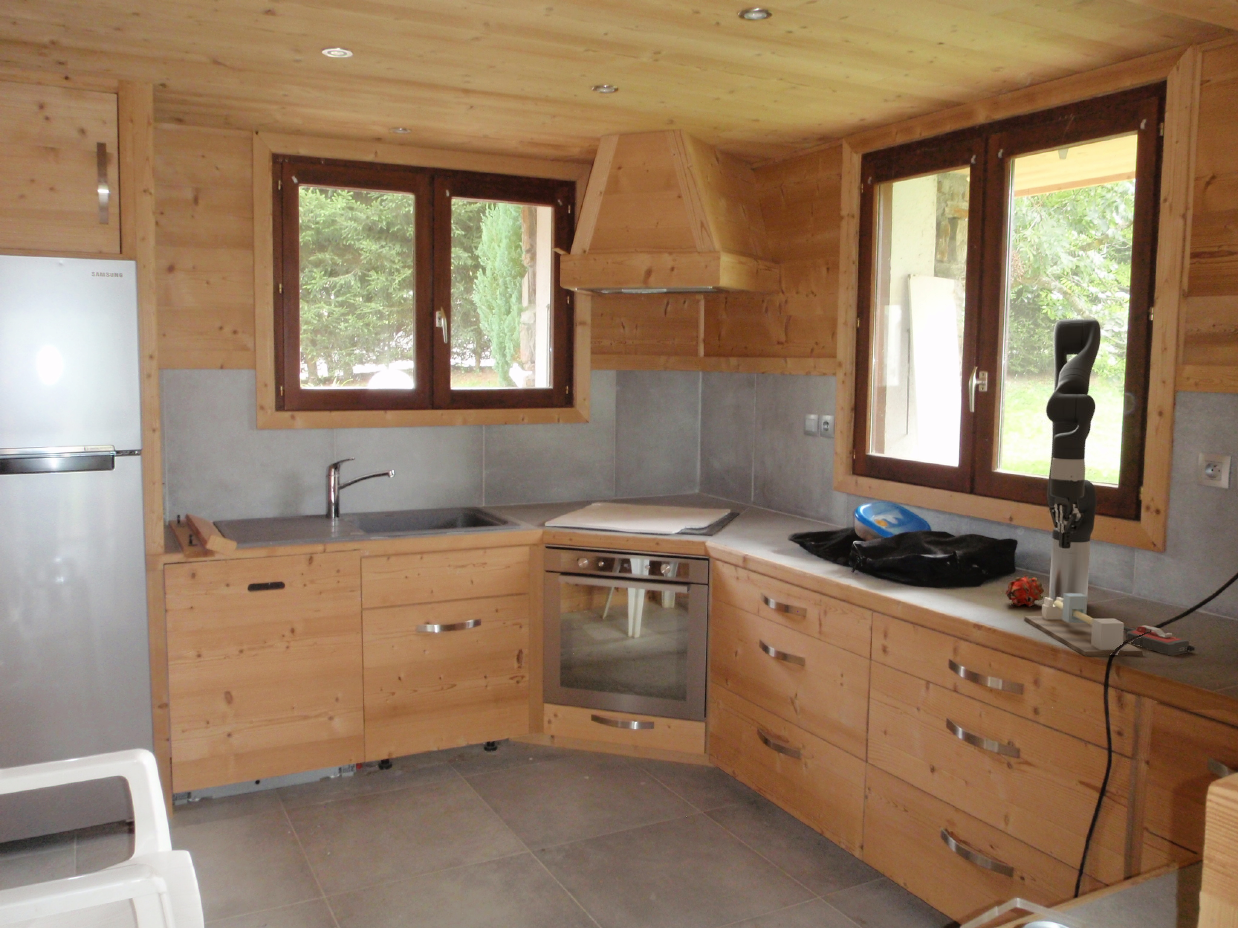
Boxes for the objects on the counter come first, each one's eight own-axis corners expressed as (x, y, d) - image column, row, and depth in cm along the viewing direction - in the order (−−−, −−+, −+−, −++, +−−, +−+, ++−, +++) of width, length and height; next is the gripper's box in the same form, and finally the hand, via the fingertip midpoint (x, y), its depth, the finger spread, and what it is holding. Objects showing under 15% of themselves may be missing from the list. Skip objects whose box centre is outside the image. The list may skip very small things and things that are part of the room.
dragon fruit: (1042, 608, 266) (1011, 620, 261) (1020, 585, 271) (989, 596, 266) (1057, 587, 260) (1026, 599, 255) (1034, 564, 266) (1003, 575, 260)
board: (1024, 620, 248) (1024, 616, 248) (1075, 619, 249) (1075, 615, 248) (1084, 655, 218) (1084, 651, 218) (1142, 655, 219) (1142, 650, 219)
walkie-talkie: (1201, 653, 221) (1122, 631, 239) (1202, 634, 221) (1123, 613, 239) (1175, 658, 218) (1096, 635, 236) (1176, 638, 217) (1097, 617, 235)
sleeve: (1062, 619, 237) (1063, 593, 237) (1079, 619, 238) (1080, 593, 237) (1068, 622, 235) (1069, 596, 234) (1085, 622, 235) (1087, 596, 234)
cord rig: (1041, 616, 247) (1042, 593, 247) (1061, 616, 247) (1062, 593, 247) (1100, 649, 219) (1101, 623, 219) (1122, 649, 219) (1124, 623, 219)
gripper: (1039, 474, 245) (1036, 543, 247) (1065, 480, 232) (1062, 553, 234) (1069, 473, 246) (1066, 542, 248) (1097, 480, 233) (1093, 552, 234)
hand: (1064, 547), depth 241 cm, fingers closed
